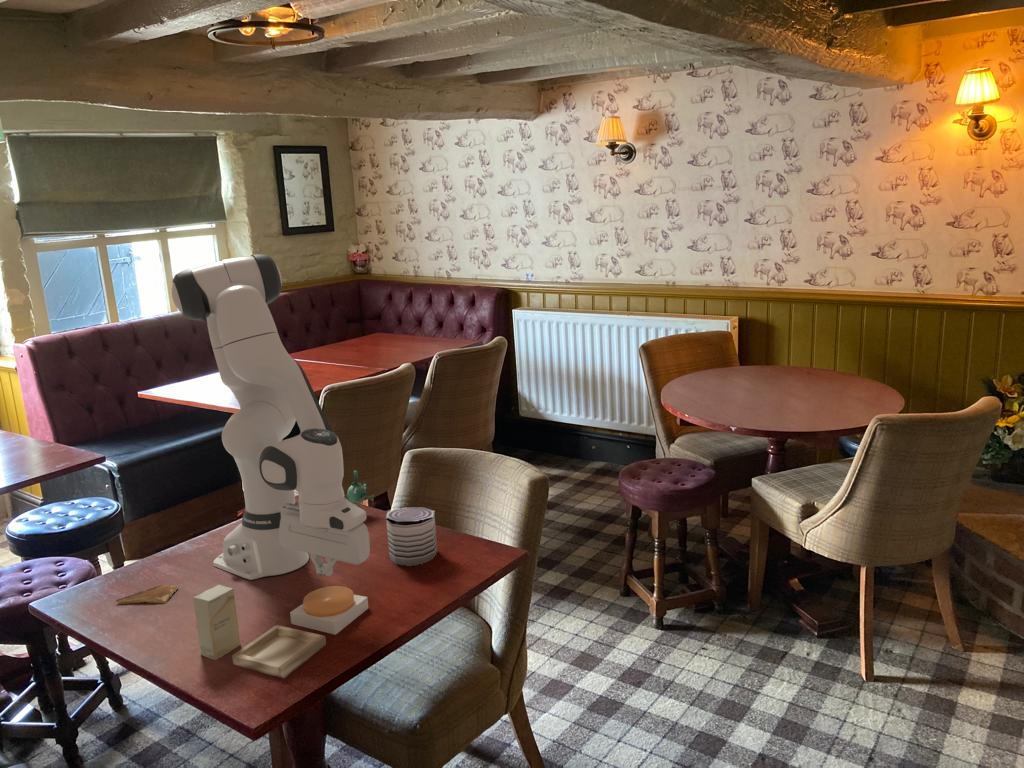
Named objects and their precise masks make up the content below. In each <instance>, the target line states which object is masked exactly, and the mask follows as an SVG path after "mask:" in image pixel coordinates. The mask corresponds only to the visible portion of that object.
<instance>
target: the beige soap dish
mask: <svg viewBox="0 0 1024 768" xmlns="http://www.w3.org/2000/svg"><path fill="white" fill-rule="evenodd" d="M326 640H327V639H326V635H323V634H318V633H314V632H309V631H306V630H305V631H304V630H301V629H296V628H292V627H287V626H284V625H278V624H276V625H274V626H273V627H272V628H269V629H268V630H267V631H266V632H264V633H263V634H261V635H259V636H258V637H256V638H255V639H254V640H252V641H250V643H248V644H246V645H245V646H243V648H241V649H239V650H238V651H236V652H235V653H233V654H231V657H232V658H231V659H232V664H233V665H234V666H238V667H241V668H245V669H249V670H252V671H256V672H258V673H263V674H265V675H269V676H273V677H276V678H279V679H282V680H283V679H285V678H287V677H288V676H289V675H291V674H292V673H293V672H294V671H296V670H297V669H298V668H299V667H300V666H302V665H303V664H304V663H305V662H306V661H307V662H308V660H309V659H310V658H311V657H313V656H314V655H315V654H316V653H318V652H319V651H320V650H322V649H323V648H324V647H325V646H326V645H327V641H326Z"/></svg>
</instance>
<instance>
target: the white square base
mask: <svg viewBox="0 0 1024 768" xmlns="http://www.w3.org/2000/svg"><path fill="white" fill-rule="evenodd" d="M368 599H369V598H368V596H365V595H364V596H363V595H358V594H354V604H353V606H352V607H351V608H349V609H348V610H346V611H345V612H342V613H340V614H337V615H333V616H326V617H318V616H312V615H309V614H307V613H306V612H305V610H304V604H303V603H302V604H301V605H298V606H297V607H296V608H294V609H293V610H292V611H290V612H289V614H290V616H289V617H290V622H291V623H290V624H291V625H295V626H299V627H303V628H306V629H311V630H316V631H318V632H323V633H327V634H331V635H334V636H336V635H337V634H339V633H340V632H341V631H342V630H343V629H344V628H346V627H347V626H348V625H350V624H351V623H352V622H353V621H354V620H356V619H357V618H358V617H359V616H361V615H362V614H363V613H364V612H366V611H367V610H368V609H369V600H368Z"/></svg>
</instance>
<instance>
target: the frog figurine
mask: <svg viewBox="0 0 1024 768" xmlns="http://www.w3.org/2000/svg"><path fill="white" fill-rule="evenodd" d="M353 478H354V481H353V482H352V483H351V485H350V486H349V487H348V489H347V492H346V493H347V494H344V498H345V499H347V500H348V501H349V502H351V503H352V504H354V505H356V506H357V507H359V508H361V506H360V505H359V503H360V502H363V500H365V498H367V499H369V500H371V501H372V502H374V497H375V495H374V494H371V495H369V492H366V489H367V487H368V485H367V483H368V482H367V481H366V480H363V485H362V483H361V482H360V481H359V474H358V471H357V470H354V471H353ZM370 497H372V498H370ZM361 509H362V508H361Z"/></svg>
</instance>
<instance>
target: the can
mask: <svg viewBox="0 0 1024 768" xmlns="http://www.w3.org/2000/svg"><path fill="white" fill-rule="evenodd" d="M435 512H436V511H435V510H432V509H431V508H427V507H424V506H423V507H421V506H420V507H418V506H417V507H416V506H415V507H401V508H397V509H393V510H389V511H387V513H386V515H385V516H384V518H386V530H387V531H386V532H387V543H388V554H389V559H390V560H391V562H393V563H394V565H398V564H399V566H404V565H405V566H404V567H413V566H412V565H414V566H419V565H418V564H421V563H425V562H427V561H428V560H431V559H432V558H434V557H435V554H436V552H437V553H438V544H437V543H438V542H437V529H436V519H435V517H436V516H435ZM436 555H437V554H436ZM435 558H436V557H435ZM431 561H432V560H431ZM427 563H428V562H427ZM425 564H426V563H425ZM421 565H422V564H421Z"/></svg>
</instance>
